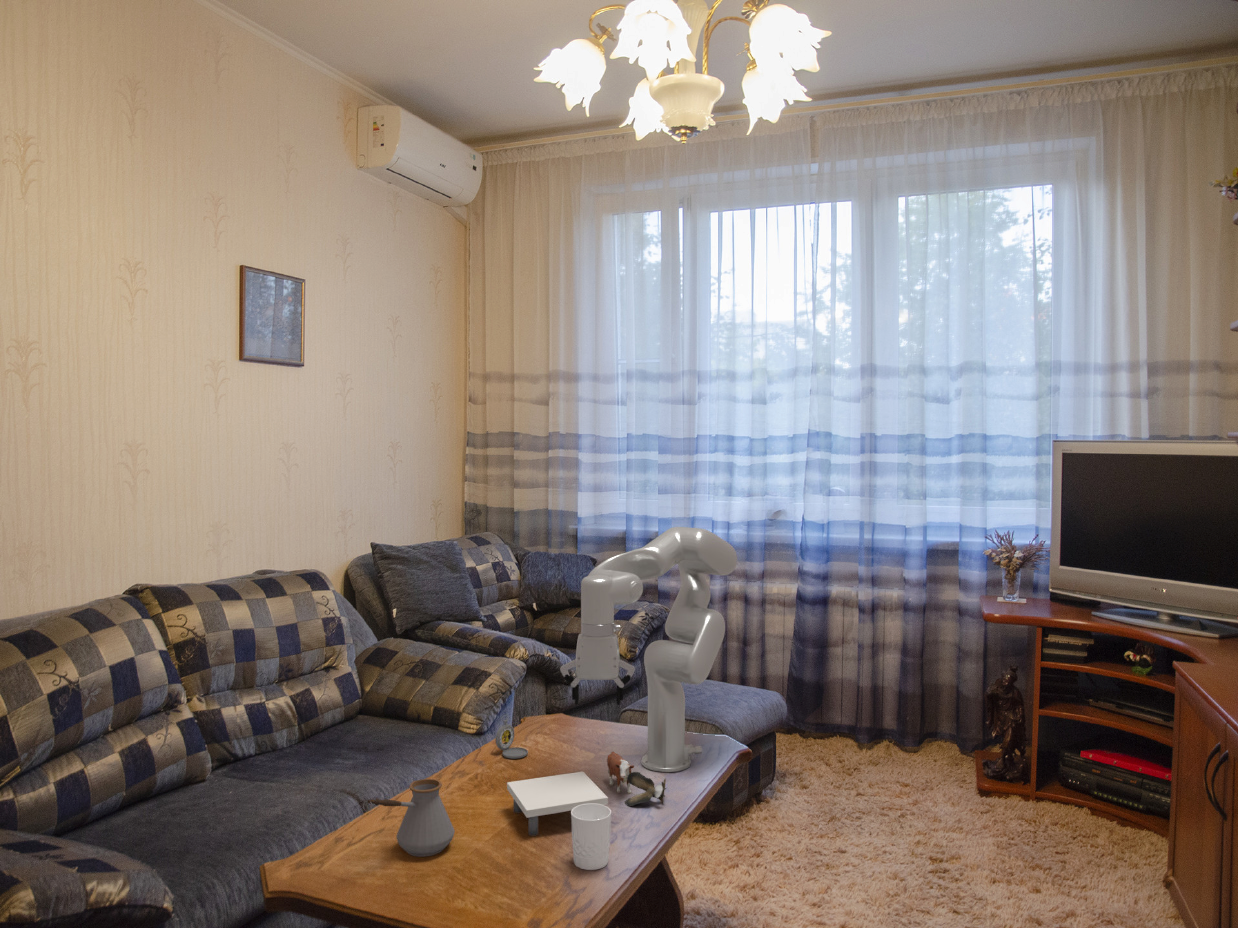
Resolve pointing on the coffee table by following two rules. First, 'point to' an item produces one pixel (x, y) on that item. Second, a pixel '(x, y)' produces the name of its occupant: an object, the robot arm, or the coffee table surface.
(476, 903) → the coffee table surface
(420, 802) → the coffee pot
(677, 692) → the robot arm
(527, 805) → the display shelf
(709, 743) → the coffee table surface
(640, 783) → the eagle figurine
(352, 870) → the coffee table surface
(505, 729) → the pocket watch
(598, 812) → the white cup
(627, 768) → the bull figurine
